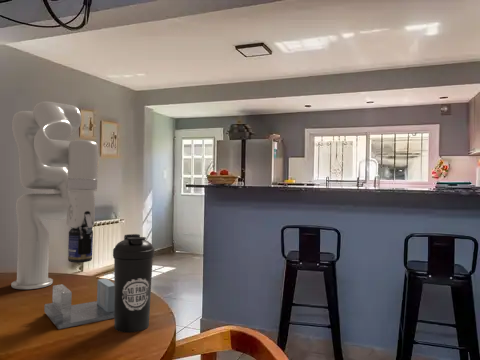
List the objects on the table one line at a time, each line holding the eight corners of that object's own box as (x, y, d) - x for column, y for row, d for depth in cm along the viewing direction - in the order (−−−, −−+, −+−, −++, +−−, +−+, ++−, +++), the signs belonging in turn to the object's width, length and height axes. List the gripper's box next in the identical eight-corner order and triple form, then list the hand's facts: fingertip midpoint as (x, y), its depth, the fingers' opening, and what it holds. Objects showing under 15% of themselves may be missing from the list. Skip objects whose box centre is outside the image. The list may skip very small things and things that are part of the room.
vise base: (43, 313, 105) (43, 284, 105) (110, 301, 116) (111, 275, 117) (55, 330, 94) (56, 297, 94) (129, 315, 105) (129, 286, 106)
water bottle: (114, 336, 91) (117, 239, 91) (107, 322, 100) (110, 233, 100) (156, 330, 95) (159, 237, 96) (146, 316, 105) (149, 232, 105)
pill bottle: (83, 263, 101) (84, 221, 101) (62, 262, 102) (64, 220, 102) (96, 259, 107) (97, 219, 107) (77, 257, 108) (78, 218, 108)
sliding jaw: (96, 303, 111) (97, 279, 111) (105, 302, 113) (106, 278, 113) (107, 312, 104) (108, 286, 104) (116, 310, 106) (117, 285, 106)
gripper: (59, 184, 109) (57, 248, 109) (77, 186, 95) (75, 258, 95) (86, 185, 113) (85, 246, 113) (107, 186, 100) (105, 255, 100)
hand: (80, 251), depth 104 cm, fingers closed on pill bottle, 6 cm apart
